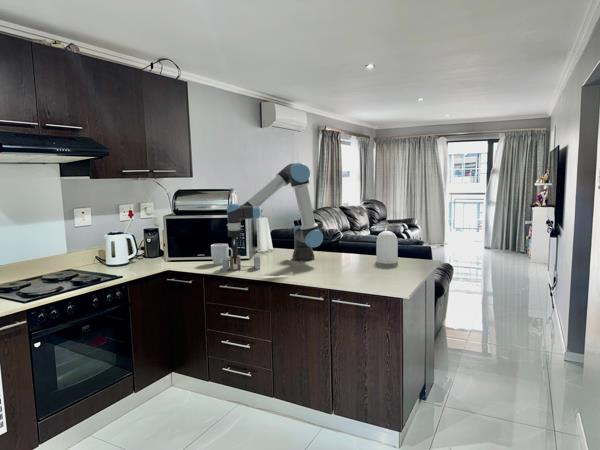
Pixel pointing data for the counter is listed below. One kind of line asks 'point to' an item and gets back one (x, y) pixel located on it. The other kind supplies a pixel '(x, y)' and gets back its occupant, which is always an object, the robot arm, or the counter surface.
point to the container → (387, 248)
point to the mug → (219, 252)
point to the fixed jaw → (225, 263)
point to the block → (232, 263)
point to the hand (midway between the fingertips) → (235, 267)
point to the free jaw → (257, 261)
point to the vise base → (237, 270)
